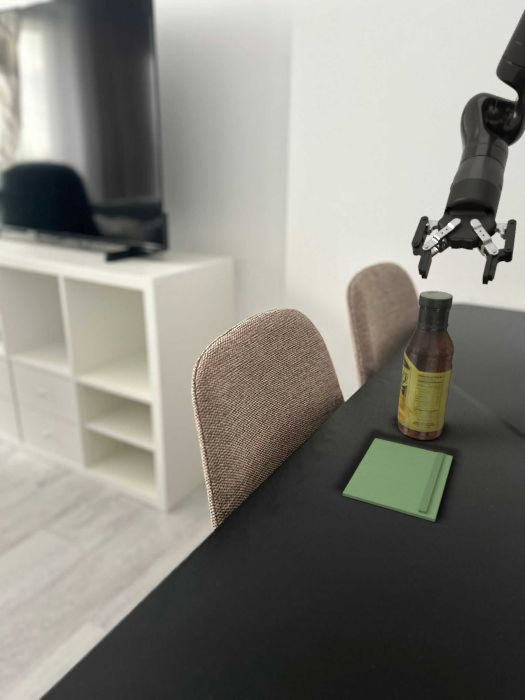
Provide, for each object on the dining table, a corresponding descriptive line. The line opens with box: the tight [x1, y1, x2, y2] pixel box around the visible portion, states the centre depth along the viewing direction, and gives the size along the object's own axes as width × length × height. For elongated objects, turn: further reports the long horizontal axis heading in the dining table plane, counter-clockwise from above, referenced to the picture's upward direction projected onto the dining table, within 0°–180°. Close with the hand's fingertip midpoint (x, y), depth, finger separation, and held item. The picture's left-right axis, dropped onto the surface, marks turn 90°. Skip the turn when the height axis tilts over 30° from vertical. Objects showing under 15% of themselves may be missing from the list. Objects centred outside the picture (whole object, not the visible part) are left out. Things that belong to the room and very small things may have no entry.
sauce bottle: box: [397, 290, 455, 441], centre depth 68 cm, size 6×6×20 cm
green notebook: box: [342, 437, 454, 523], centre depth 61 cm, size 14×10×1 cm
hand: (453, 278), depth 75 cm, fingers open, 8 cm apart
